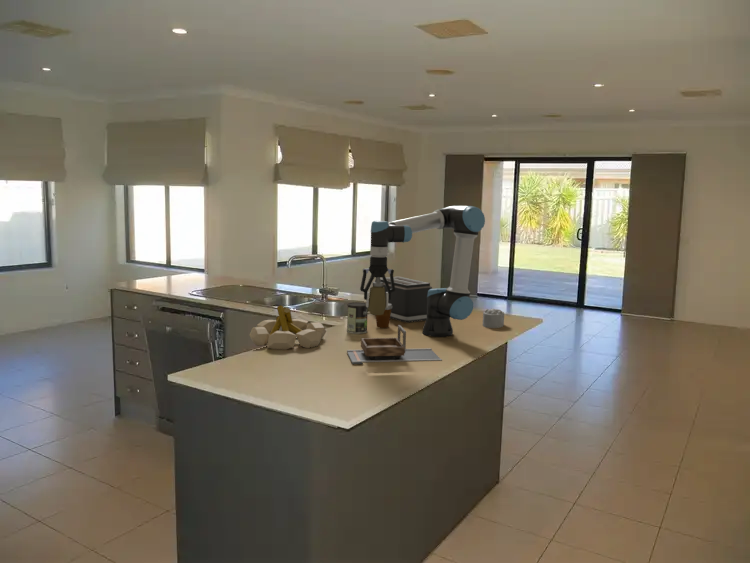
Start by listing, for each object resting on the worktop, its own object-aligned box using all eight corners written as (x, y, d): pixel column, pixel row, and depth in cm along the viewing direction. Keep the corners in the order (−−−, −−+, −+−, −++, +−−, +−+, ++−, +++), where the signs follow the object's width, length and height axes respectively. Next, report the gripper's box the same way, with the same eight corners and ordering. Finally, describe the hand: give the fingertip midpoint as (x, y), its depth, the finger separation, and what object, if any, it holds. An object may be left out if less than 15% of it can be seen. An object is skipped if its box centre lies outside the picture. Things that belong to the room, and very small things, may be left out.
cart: (398, 350, 277) (399, 324, 275) (406, 360, 261) (407, 332, 259) (360, 350, 274) (361, 324, 272) (366, 361, 258) (366, 333, 256)
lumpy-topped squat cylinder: (505, 324, 339) (506, 309, 338) (498, 329, 328) (499, 313, 327) (487, 322, 344) (488, 306, 343) (479, 326, 333) (480, 310, 332)
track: (431, 351, 280) (431, 348, 280) (441, 362, 263) (442, 359, 263) (347, 353, 274) (347, 350, 274) (352, 364, 256) (352, 361, 256)
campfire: (260, 331, 311) (260, 297, 308) (328, 333, 309) (329, 300, 307) (243, 350, 276) (243, 312, 273) (319, 352, 275) (320, 314, 272)
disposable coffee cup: (370, 327, 324) (371, 304, 322) (377, 323, 333) (378, 301, 331) (387, 329, 321) (388, 306, 319) (394, 325, 329) (395, 303, 328)
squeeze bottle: (372, 316, 273) (373, 275, 270) (364, 312, 280) (365, 273, 277) (389, 315, 276) (390, 275, 274) (380, 311, 283) (382, 272, 281)
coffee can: (369, 330, 319) (369, 302, 316) (364, 334, 309) (365, 306, 306) (349, 328, 321) (350, 301, 318) (344, 333, 311) (345, 305, 308)
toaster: (394, 308, 375) (395, 275, 372) (433, 319, 348) (434, 283, 345) (368, 312, 364) (369, 277, 361) (406, 323, 336) (407, 286, 333)
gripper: (356, 256, 269) (354, 308, 272) (403, 257, 272) (401, 308, 275) (354, 254, 276) (352, 305, 280) (400, 255, 279) (398, 305, 283)
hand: (377, 306), depth 278 cm, fingers closed on squeeze bottle, 8 cm apart
